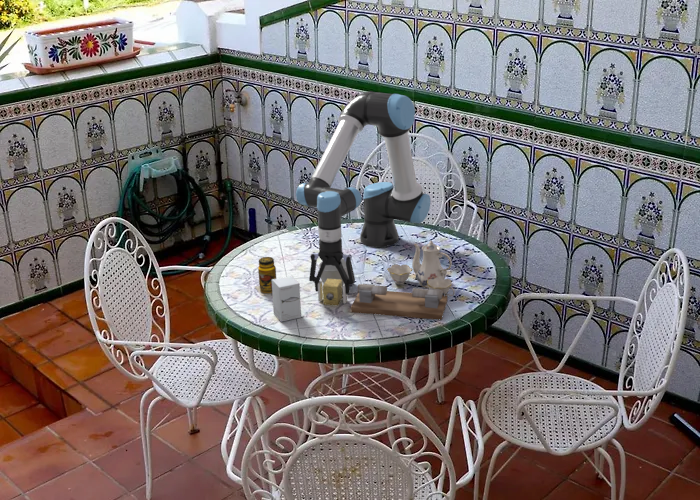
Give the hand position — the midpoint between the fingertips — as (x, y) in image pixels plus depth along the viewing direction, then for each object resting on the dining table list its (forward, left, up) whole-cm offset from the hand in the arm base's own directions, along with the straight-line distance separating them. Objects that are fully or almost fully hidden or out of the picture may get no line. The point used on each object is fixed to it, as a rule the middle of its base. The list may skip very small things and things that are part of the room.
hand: (332, 300), depth 286 cm
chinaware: (-18, +29, -1) cm, 34 cm away
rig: (0, +23, 0) cm, 23 cm away
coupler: (0, 0, 0) cm, 0 cm away
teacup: (-15, -3, -1) cm, 15 cm away
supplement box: (+13, -12, -1) cm, 18 cm away
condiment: (-5, -25, -1) cm, 26 cm away
